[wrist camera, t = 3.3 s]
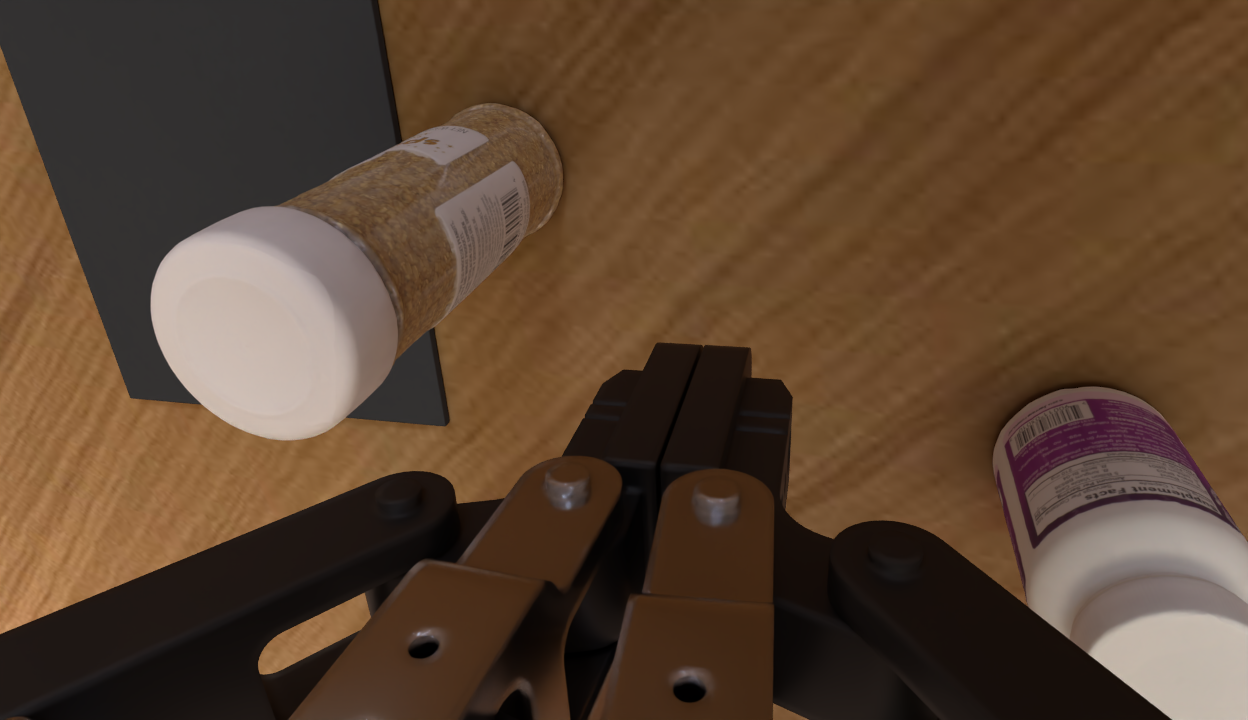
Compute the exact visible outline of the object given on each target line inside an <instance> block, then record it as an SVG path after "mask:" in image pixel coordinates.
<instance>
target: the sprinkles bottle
mask: <svg viewBox="0 0 1248 720" xmlns="http://www.w3.org/2000/svg"><path fill="white" fill-rule="evenodd" d="M562 190H563V168H562V163H561V160H560V156H559V153H558V151H557V149H556V147H555V144H554V142H553V141H552V140H551V138H550V136H549V135H548V133H547V132H546V131H545V129H544V128H543V126H542V125H541V124H540V123H539V122H538V121H537V120H535V119H534V118H532V117H531V116H529V115H528V114H527V113H525V112H523V111H521V110H519V109H516V108H512V107H509V106H507V105H501V104H497V103H485V104H480V105H474V106H471V107H469V108H466V109H464V110H462V111H461V112H459V113H457V114H455V115H454V116H453V117H452V118H451V120H450V121H448V122H446V123H445V124H443V125H441V126H438V127H435V128H431V129H428V130H426V131H423V132H421V133H419V134H417V135H415V136H413V137H411V138H409V139H407V140H405V141H403V142H401V143H400V144H398V145H396V146H394V147H392V148H390V149H388V150H386V151H384V152H382V153H380V154H378V155H376V156H374V157H372V158H370V159H367V160H365V161H363V162H361V163H359V164H357V165H355V166H353V167H351V168H349V169H347V170H345V171H343V172H342V173H340V174H338V175H336V176H334V177H333V178H332V179H331V180H329V181H328V182H326V183H324V184H322V185H320V186H318V187H316V188H313V189H311V190H309V191H307V192H304V193H302V194H300V195H298V196H297V197H295V198H293V199H291V200H289V201H287V202H284V203H282V204H280V205H278V206H267V207H256V208H251V209H248V210H245V211H241V212H239V213H236V214H234V215H232V216H230V217H227V218H225V219H223V220H221V221H219V222H216V223H214V224H213V225H211V226H209V227H207V228H205V229H203V230H201V231H199V232H197V233H195V234H193V235H192V236H190V237H188V238H186V239H185V240H183V241H181V242H180V243H178V244H177V245H176V246H175V247H174V248H173V249H172V250H171V251H170V252H169V253H168V254H167V255H166V256H165V258H164V259H163V260H162V262H161V263H160V265H159V267H158V269H157V272H156V275H155V278H154V281H153V284H152V291H151V317H152V323H153V328H154V331H155V335H156V338H157V341H158V344H159V346H160V348H161V350H162V353H163V355H164V357H165V359H166V360H167V362H168V364H169V366H170V368H171V369H172V371H173V372H174V373H175V375H176V376H177V378H178V379H179V380H180V382H181V383H182V384H183V385H184V387H185V388H186V389H187V390H188V391H189V392H190V393H191V394H192V395H193V396H194V397H195V398H196V399H197V400H198V401H199V402H200V403H201V404H202V405H203V406H205V407H206V408H207V409H208V410H210V411H211V412H212V413H214V414H215V415H216V416H218V417H219V418H221V419H222V420H224V421H225V422H227V423H229V424H231V425H232V426H235V427H237V428H239V429H241V430H243V431H246V432H248V433H251V434H254V435H257V436H261V437H265V438H268V439H276V440H299V439H306V438H310V437H314V436H317V435H319V434H322V433H324V432H326V431H328V430H330V429H331V428H333V427H334V426H336V425H337V424H338V423H339V422H341V421H342V420H343V419H344V418H345V417H347V416H348V415H349V414H350V413H351V412H352V411H353V410H355V409H356V408H357V407H358V406H359V405H360V404H361V403H362V402H364V401H365V400H366V399H367V398H368V397H369V396H370V395H371V394H372V393H373V392H374V391H375V390H376V389H377V388H378V387H379V386H380V385H381V384H382V383H383V381H384V380H385V379H386V377H387V375H388V374H389V372H390V370H391V368H392V366H393V364H394V363H395V360H396V359H397V358H398V357H399V356H401V354H402V353H404V352H405V351H406V349H407V348H409V347H410V346H411V345H412V344H413V343H414V342H415V341H416V340H418V339H419V338H420V337H421V336H422V335H423V334H424V333H425V332H426V331H428V330H430V329H431V328H433V327H434V326H436V325H437V324H438V323H439V322H440V321H441V320H442V319H443V318H445V317H446V316H447V315H448V314H449V313H450V312H451V311H452V310H453V309H454V308H455V307H456V306H457V305H458V304H459V303H461V302H462V301H463V300H464V299H465V298H466V297H467V296H468V295H469V294H470V293H471V292H472V291H473V290H474V289H475V288H476V287H477V286H478V285H479V284H480V283H481V282H483V281H484V280H485V279H486V278H487V277H488V276H489V275H490V274H491V273H492V272H493V271H494V270H495V269H496V268H497V267H498V266H499V265H500V264H501V263H502V262H503V261H504V260H505V259H506V258H507V257H508V256H509V255H510V254H511V253H512V252H513V251H514V250H515V249H516V247H517V246H518V245H519V244H520V242H521V241H522V240H523V239H524V238H525V237H526V236H528V235H530V234H532V233H534V232H536V231H537V230H539V229H540V228H541V227H542V226H543V225H545V224H546V223H547V222H548V221H549V219H550V218H551V217H552V215H553V213H554V211H555V210H556V208H557V206H558V203H559V199H560V197H561V195H562Z"/></svg>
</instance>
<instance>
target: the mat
mask: <svg viewBox="0 0 1248 720" xmlns="http://www.w3.org/2000/svg"><path fill="white" fill-rule="evenodd" d="M0 46H1V49H2V51H3V54H4V57H5V60H6V62H7V65H8V68H9V70H10V73H11V76H12V79H13V81H14V84H15V87H16V89H17V92H18V95H19V98H20V100H21V103H22V106H23V108H24V111H25V114H26V116H27V119H28V122H29V125H30V127H31V130H32V133H33V135H34V138H35V141H36V144H37V146H38V149H39V152H40V154H41V157H42V160H43V163H44V165H45V168H46V171H47V173H48V176H49V179H50V181H51V184H52V187H53V190H54V192H55V195H56V198H57V200H58V203H59V206H60V209H61V211H62V214H63V217H64V219H65V222H66V225H67V228H68V230H69V233H70V236H71V238H72V241H73V244H74V246H75V249H76V252H77V255H78V257H79V260H80V263H81V265H82V268H83V271H84V274H85V276H86V279H87V282H88V284H89V287H90V290H91V293H92V295H93V298H94V301H95V303H96V306H97V309H98V311H99V314H100V317H101V320H102V322H103V325H104V328H105V330H106V333H107V336H108V339H109V341H110V344H111V347H112V349H113V352H114V355H115V358H116V360H117V363H118V366H119V368H120V371H121V374H122V376H123V379H124V382H125V385H126V387H127V390H128V393H129V395H130V398H134V399H146V400H157V401H168V402H179V403H190V404H201V403H200V402H199V401H198V400H197V399H196V398H195V397H194V396H193V395H192V394H191V393H190V392H189V391H188V390H187V389H186V388H185V387H184V385H183V384H182V383H181V382H180V380H179V379H178V378H177V376H176V375H175V373H174V372H173V371H172V369H171V368H170V366H169V364H168V362H167V360H166V359H165V357H164V355H163V353H162V350H161V348H160V346H159V344H158V341H157V338H156V335H155V331H154V328H153V323H152V317H151V291H152V284H153V281H154V278H155V275H156V272H157V269H158V267H159V265H160V263H161V262H162V260H163V259H164V258H165V256H166V255H167V254H168V253H169V252H170V251H171V250H172V249H173V248H174V247H175V246H176V245H177V244H178V243H180V242H181V241H183V240H185V239H186V238H188V237H190V236H192V235H193V234H195V233H197V232H199V231H201V230H203V229H205V228H207V227H209V226H211V225H213V224H214V223H216V222H219V221H221V220H223V219H225V218H227V217H230V216H232V215H234V214H236V213H239V212H241V211H245V210H248V209H251V208H256V207H267V206H278V205H280V204H282V203H284V202H287V201H289V200H291V199H293V198H295V197H297V196H298V195H300V194H302V193H304V192H307V191H309V190H311V189H313V188H316V187H318V186H320V185H322V184H324V183H326V182H328V181H329V180H331V179H332V178H333V177H334V176H336V175H338V174H340V173H342V172H343V171H345V170H347V169H349V168H351V167H353V166H355V165H357V164H359V163H361V162H363V161H365V160H367V159H370V158H372V157H374V156H376V155H378V154H380V153H382V152H384V151H386V150H388V149H390V148H392V147H394V146H396V145H398V144H400V143H401V137H400V131H399V125H398V119H397V114H396V108H395V102H394V96H393V90H392V84H391V79H390V73H389V67H388V61H387V55H386V50H385V44H384V38H383V32H382V26H381V21H380V15H379V9H378V3H377V0H0ZM201 405H202V404H201ZM346 418H357V419H368V420H379V421H390V422H402V423H413V424H424V425H435V426H446V425H447V424H448V423H449V415H448V410H447V404H446V398H445V392H444V386H443V381H442V375H441V369H440V363H439V357H438V352H437V346H436V340H435V334H434V328H431V329H430V330H428V331H426V332H425V333H424V334H423V335H422V336H421V337H420V338H419V339H418V340H416V341H415V342H414V343H413V344H412V345H411V346H410V347H409V348H407V349H406V351H405V352H404V353H402V354H401V356H399V357H398V358H397V359H396V360H395V363H394V364H393V366H392V368H391V370H390V372H389V374H388V375H387V377H386V379H385V380H384V381H383V383H382V384H381V385H380V386H379V387H378V388H377V389H376V390H375V391H374V392H373V393H372V394H371V395H370V396H369V397H368V398H367V399H366V400H365V401H364V402H362V403H361V404H360V405H359V406H358V407H357V408H356V409H355V410H353V411H352V412H351V413H350V414H349V415H348V416H347V417H346Z"/></svg>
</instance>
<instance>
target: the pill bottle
mask: <svg viewBox="0 0 1248 720" xmlns="http://www.w3.org/2000/svg"><path fill="white" fill-rule="evenodd" d="M993 471H994V476H995V480H996V485H997V489H998V492H999V496H1000V500H1001V504H1002V507H1003V511H1004V515H1005V519H1006V523H1007V527H1008V530H1009V534H1010V537H1011V541H1012V545H1013V549H1014V552H1015V556H1016V560H1017V564H1018V568H1019V572H1020V576H1021V580H1022V584H1023V588H1024V591H1025V596H1026V601H1027V604H1028V607H1029V608H1030V609H1031V610H1033V611H1034V612H1035V613H1036V614H1038V615H1039V616H1040V617H1041V618H1043V619H1044V620H1045V621H1047V622H1048V623H1049V624H1050V625H1052V626H1053V627H1054V628H1056V629H1057V630H1058V631H1059V632H1061V633H1062V634H1063V635H1065V636H1066V637H1067V638H1068V639H1070V640H1071V641H1072V642H1073V643H1075V644H1076V645H1077V646H1079V647H1080V648H1081V649H1082V650H1084V651H1085V652H1086V653H1088V654H1089V655H1090V656H1091V657H1093V658H1094V659H1095V660H1097V661H1098V662H1099V663H1100V664H1102V665H1103V666H1104V667H1105V668H1107V669H1108V670H1109V671H1111V672H1112V673H1113V674H1114V675H1116V676H1117V677H1118V678H1120V679H1121V680H1122V681H1123V682H1125V683H1126V684H1127V685H1129V686H1130V687H1131V688H1132V689H1134V690H1135V691H1136V692H1137V693H1139V694H1140V695H1141V696H1143V697H1144V698H1145V699H1146V700H1148V701H1149V702H1150V703H1152V704H1153V705H1154V706H1155V707H1157V708H1158V709H1159V710H1161V711H1162V712H1163V713H1164V714H1166V715H1167V716H1168V717H1169V718H1171V719H1172V720H1248V542H1247V541H1246V539H1245V538H1244V536H1243V535H1242V533H1241V532H1240V530H1239V528H1238V527H1237V526H1236V524H1235V522H1234V521H1233V519H1232V518H1231V516H1230V515H1229V513H1228V512H1227V510H1226V509H1225V507H1224V506H1223V504H1222V503H1221V501H1220V500H1219V498H1218V497H1217V495H1216V493H1215V492H1214V490H1213V489H1212V488H1211V486H1210V484H1209V483H1208V481H1207V480H1206V478H1205V477H1204V475H1203V474H1202V472H1201V471H1200V469H1199V468H1198V466H1197V465H1196V463H1195V462H1194V460H1193V459H1192V457H1191V456H1190V454H1189V453H1188V451H1187V449H1186V448H1185V446H1184V445H1183V443H1182V442H1181V440H1180V439H1179V437H1178V436H1177V435H1176V433H1175V431H1174V430H1173V429H1172V428H1171V426H1170V425H1169V424H1168V422H1167V421H1166V420H1165V418H1164V417H1163V416H1162V415H1161V414H1160V413H1159V412H1158V411H1157V410H1156V409H1154V408H1153V407H1152V406H1150V405H1149V404H1148V403H1146V402H1145V401H1143V400H1141V399H1139V398H1138V397H1135V396H1133V395H1130V394H1128V393H1126V392H1123V391H1118V390H1115V389H1111V388H1104V387H1095V386H1092V387H1079V388H1074V389H1061V390H1058V391H1055V392H1052V393H1050V394H1047V395H1045V396H1043V397H1041V398H1038V399H1036V400H1034V401H1033V402H1031V403H1029V404H1028V405H1026V406H1025V407H1024V408H1023V409H1022V410H1020V411H1019V412H1018V413H1017V414H1016V415H1015V416H1014V417H1013V418H1012V419H1010V420H1009V422H1008V423H1007V424H1006V425H1005V427H1004V428H1003V429H1002V430H1001V432H1000V434H999V437H998V439H997V442H996V444H995V448H994V453H993Z"/></svg>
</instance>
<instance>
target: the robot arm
mask: <svg viewBox="0 0 1248 720" xmlns="http://www.w3.org/2000/svg"><path fill="white" fill-rule="evenodd" d="M751 368H752V357H751V348H748V347H730V346H713V345H705V346H704V348H703V346H702V345H693V344H675V343H656V345H655V347H654V349H653V351H652V353H651V355H650V357H649V359H648V361H647V363H646V365H645V367H644V369H643V371H637V370H622V371H621V372H619V373H618V374H616V375H615V376H613V377H612V378H610V379H609V380H607V381H606V382H604V383H603V384H602V386H601V387H600V389H599V391H598V393H597V395H596V396H595V398H594V400H593V404H591V405H590V407H589V409H588V411H587V412H586V414H585V418H583V419H582V421H581V423H580V425H579V427H578V428H577V430H576V432H575V434H574V435H573V437H572V439H571V441H570V443H569V444H568V446H567V448H566V450H565V451H564V453H563V455H562V457H558V458H553V459H550V460H547V461H544V462H541V463H539V464H537V465H535V466H534V467H532V468H530V469H529V470H528V471H526V472H525V473H524V474H523V475H522V476H521V477H520V479H519V480H518V481H517V483H516V484H515V485H514V487H513V488H512V489H511V491H510V492H509V493H508V495H507V496H506V497H505V498H503V499H497V500H489V501H479V502H470V503H460V504H457V502H456V496H455V490H454V488H453V485H452V484H451V483H450V482H449V480H447V479H446V478H444V477H442V476H440V475H438V474H434V473H431V472H424V471H410V472H402V473H396V474H392V475H388V476H385V477H382V478H380V479H377V480H375V481H372V482H370V483H367V484H365V485H362V486H360V487H358V488H355V489H353V490H350V491H348V492H345V493H343V494H341V495H338V496H336V497H333V498H331V499H328V500H326V501H324V502H321V503H319V504H316V505H314V506H311V507H309V508H307V509H304V510H302V511H299V512H297V513H294V514H292V515H289V516H287V517H285V518H282V519H280V520H277V521H275V522H272V523H270V524H268V525H265V526H263V527H260V528H258V529H255V530H253V531H251V532H248V533H246V534H243V535H241V536H238V537H236V538H234V539H231V540H229V541H226V542H224V543H221V544H219V545H216V546H214V547H212V548H209V549H207V550H204V551H202V552H199V553H197V554H195V555H192V556H190V557H187V558H185V559H182V560H180V561H178V562H175V563H173V564H170V565H168V566H165V567H163V568H160V569H158V570H156V571H153V572H151V573H148V574H146V575H143V576H141V577H139V578H136V579H134V580H131V581H129V582H126V583H124V584H122V585H119V586H117V587H114V588H112V589H109V590H107V591H105V592H102V593H100V594H97V595H95V596H92V597H90V598H87V599H85V600H83V601H80V602H78V603H75V604H73V605H70V606H68V607H66V608H63V609H61V610H58V611H56V612H53V613H51V614H49V615H46V616H44V617H41V618H39V619H36V620H34V621H31V622H29V623H27V624H24V625H22V626H19V627H17V628H14V629H12V630H10V631H7V632H5V633H2V634H0V720H773V703H774V704H776V705H779V706H781V707H783V708H785V709H787V710H789V711H792V712H794V713H796V714H798V715H800V716H803V717H805V718H807V719H809V720H1172V719H1171V718H1169V717H1168V716H1167V715H1166V714H1164V713H1163V712H1162V711H1161V710H1159V709H1158V708H1157V707H1155V706H1154V705H1153V704H1152V703H1150V702H1149V701H1148V700H1146V699H1145V698H1144V697H1143V696H1141V695H1140V694H1139V693H1137V692H1136V691H1135V690H1134V689H1132V688H1131V687H1130V686H1129V685H1127V684H1126V683H1125V682H1123V681H1122V680H1121V679H1120V678H1118V677H1117V676H1116V675H1114V674H1113V673H1112V672H1111V671H1109V670H1108V669H1107V668H1105V667H1104V666H1103V665H1102V664H1100V663H1099V662H1098V661H1097V660H1095V659H1094V658H1093V657H1091V656H1090V655H1089V654H1088V653H1086V652H1085V651H1084V650H1082V649H1081V648H1080V647H1079V646H1077V645H1076V644H1075V643H1073V642H1072V641H1071V640H1070V639H1068V638H1067V637H1066V636H1065V635H1063V634H1062V633H1061V632H1059V631H1058V630H1057V629H1056V628H1054V627H1053V626H1052V625H1050V624H1049V623H1048V622H1047V621H1045V620H1044V619H1043V618H1041V617H1040V616H1039V615H1038V614H1036V613H1035V612H1034V611H1033V610H1031V609H1030V608H1029V607H1027V606H1026V605H1025V604H1024V603H1022V602H1021V601H1020V600H1018V599H1017V598H1016V597H1015V596H1013V595H1012V594H1011V593H1010V592H1008V591H1007V590H1006V589H1004V588H1003V587H1002V586H1001V585H999V584H998V583H997V582H995V581H994V580H993V579H992V578H990V577H989V576H988V575H986V574H985V573H984V572H983V571H981V570H980V569H979V568H978V567H976V566H975V565H974V564H972V563H971V562H970V561H969V560H967V559H966V558H965V557H963V556H962V555H961V554H960V553H958V552H957V551H956V550H954V549H953V548H952V547H951V546H949V545H948V544H947V543H946V542H944V541H943V540H941V539H940V538H939V537H937V536H936V535H934V534H932V533H930V532H928V531H926V530H924V529H921V528H919V527H916V526H913V525H910V524H906V523H901V522H895V521H868V522H862V523H859V524H855V525H853V526H850V527H848V528H846V529H845V530H843V531H842V532H840V533H839V534H838V535H837V536H836V537H835V539H832V538H829V537H826V536H823V535H820V534H818V533H815V532H813V531H811V530H809V529H807V528H805V527H803V526H802V525H800V524H799V523H797V522H796V521H795V520H794V519H793V518H792V517H790V516H789V514H788V513H787V512H786V511H785V508H786V499H787V491H788V483H789V468H790V445H791V421H792V398H793V397H792V395H791V394H790V392H789V391H788V389H787V388H786V386H785V385H784V383H783V382H782V380H776V379H761V378H751ZM364 592H365V595H366V599H367V603H368V607H369V611H370V615H371V618H370V620H369V621H368V622H367V623H366V625H365V626H364V627H363V628H362V629H361V630H360V631H358V632H356V633H354V634H352V635H350V636H348V637H346V638H344V639H342V640H340V641H338V642H336V643H334V644H332V645H330V646H328V647H326V648H324V649H322V650H320V651H318V652H316V653H314V654H312V655H310V656H308V657H306V658H305V659H303V660H301V661H299V662H297V663H295V664H293V665H291V666H289V667H287V668H285V669H283V670H281V671H278V672H276V673H273V674H267V675H262V674H259V670H258V660H259V657H260V654H261V652H262V651H263V649H264V647H265V646H266V645H267V644H268V643H269V642H270V641H271V640H272V639H273V638H274V637H276V636H277V635H278V634H280V633H282V632H284V631H286V630H288V629H290V628H292V627H294V626H296V625H298V624H300V623H302V622H304V621H306V620H309V619H311V618H313V617H315V616H317V615H319V614H321V613H323V612H325V611H327V610H329V609H331V608H333V607H335V606H337V605H340V604H342V603H344V602H346V601H348V600H350V599H352V598H354V597H356V596H358V595H360V594H362V593H364Z"/></svg>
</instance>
